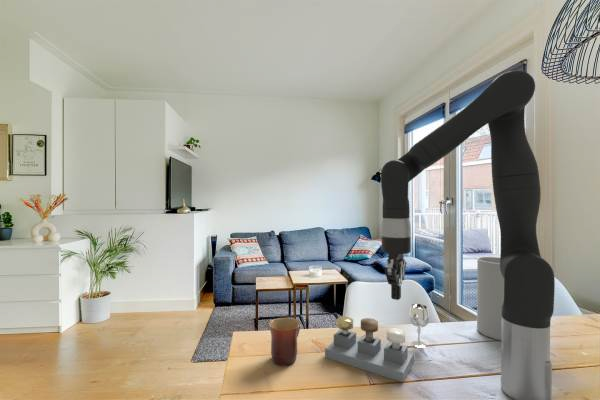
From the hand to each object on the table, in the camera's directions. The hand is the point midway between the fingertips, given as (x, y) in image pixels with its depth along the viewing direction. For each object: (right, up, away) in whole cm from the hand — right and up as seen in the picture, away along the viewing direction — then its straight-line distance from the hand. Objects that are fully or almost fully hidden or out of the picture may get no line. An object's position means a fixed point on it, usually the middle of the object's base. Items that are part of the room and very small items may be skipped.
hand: (396, 298), depth 83 cm
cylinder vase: (+41, -19, +21) cm, 50 cm away
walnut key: (-6, -14, +4) cm, 16 cm away
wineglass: (+11, -19, +13) cm, 25 cm away
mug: (-30, -19, +5) cm, 35 cm away
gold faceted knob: (-13, -15, +8) cm, 21 cm away
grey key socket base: (-6, -19, +4) cm, 20 cm away
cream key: (0, -15, 0) cm, 15 cm away
